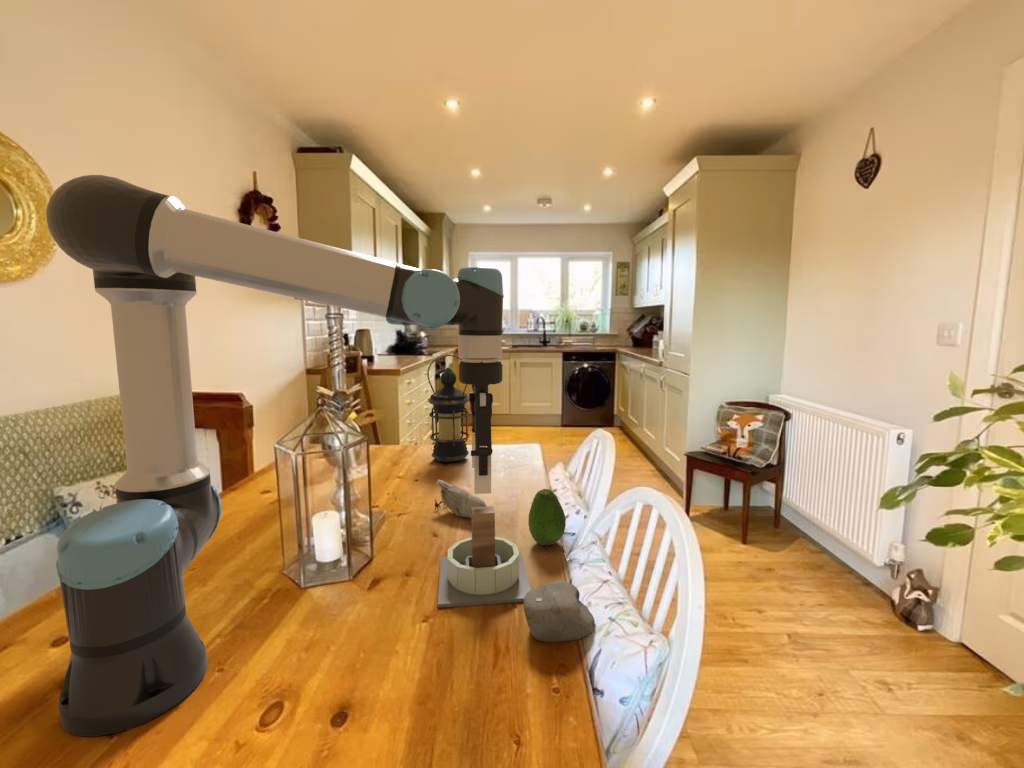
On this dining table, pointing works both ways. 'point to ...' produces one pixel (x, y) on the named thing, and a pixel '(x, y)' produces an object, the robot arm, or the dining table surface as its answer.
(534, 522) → the fruit
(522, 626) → the dining table surface
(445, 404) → the lantern
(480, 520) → the wooden rectangular beam
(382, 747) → the dining table surface
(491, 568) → the square base green ring
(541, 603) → the stone
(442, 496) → the decorative bird
